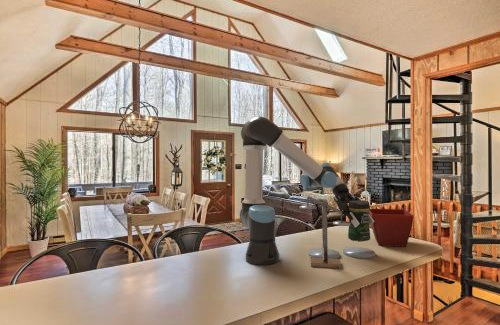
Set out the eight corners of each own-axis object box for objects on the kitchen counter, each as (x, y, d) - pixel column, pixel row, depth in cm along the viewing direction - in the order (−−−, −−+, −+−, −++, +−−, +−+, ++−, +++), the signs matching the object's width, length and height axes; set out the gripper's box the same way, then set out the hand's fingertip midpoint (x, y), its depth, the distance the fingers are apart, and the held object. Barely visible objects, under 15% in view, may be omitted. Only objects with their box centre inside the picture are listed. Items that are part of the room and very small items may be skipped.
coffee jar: (357, 243, 127) (357, 201, 127) (345, 239, 134) (344, 200, 134) (373, 240, 131) (373, 200, 131) (360, 236, 138) (360, 198, 138)
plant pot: (372, 246, 143) (371, 213, 143) (368, 237, 161) (367, 208, 162) (414, 249, 138) (414, 215, 138) (405, 239, 156) (404, 209, 156)
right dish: (344, 257, 127) (344, 254, 127) (341, 248, 140) (341, 246, 140) (378, 259, 124) (378, 256, 124) (371, 250, 137) (371, 247, 137)
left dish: (308, 259, 125) (308, 256, 125) (308, 250, 139) (308, 247, 139) (341, 260, 122) (341, 258, 122) (338, 251, 136) (338, 249, 136)
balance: (300, 266, 116) (299, 196, 117) (300, 260, 123) (299, 195, 124) (352, 269, 112) (351, 197, 113) (350, 263, 119) (348, 195, 120)
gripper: (349, 191, 151) (376, 226, 137) (318, 193, 141) (343, 231, 127) (357, 181, 147) (385, 217, 132) (325, 183, 137) (352, 222, 122)
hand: (364, 224), depth 130 cm, fingers closed on coffee jar, 9 cm apart
